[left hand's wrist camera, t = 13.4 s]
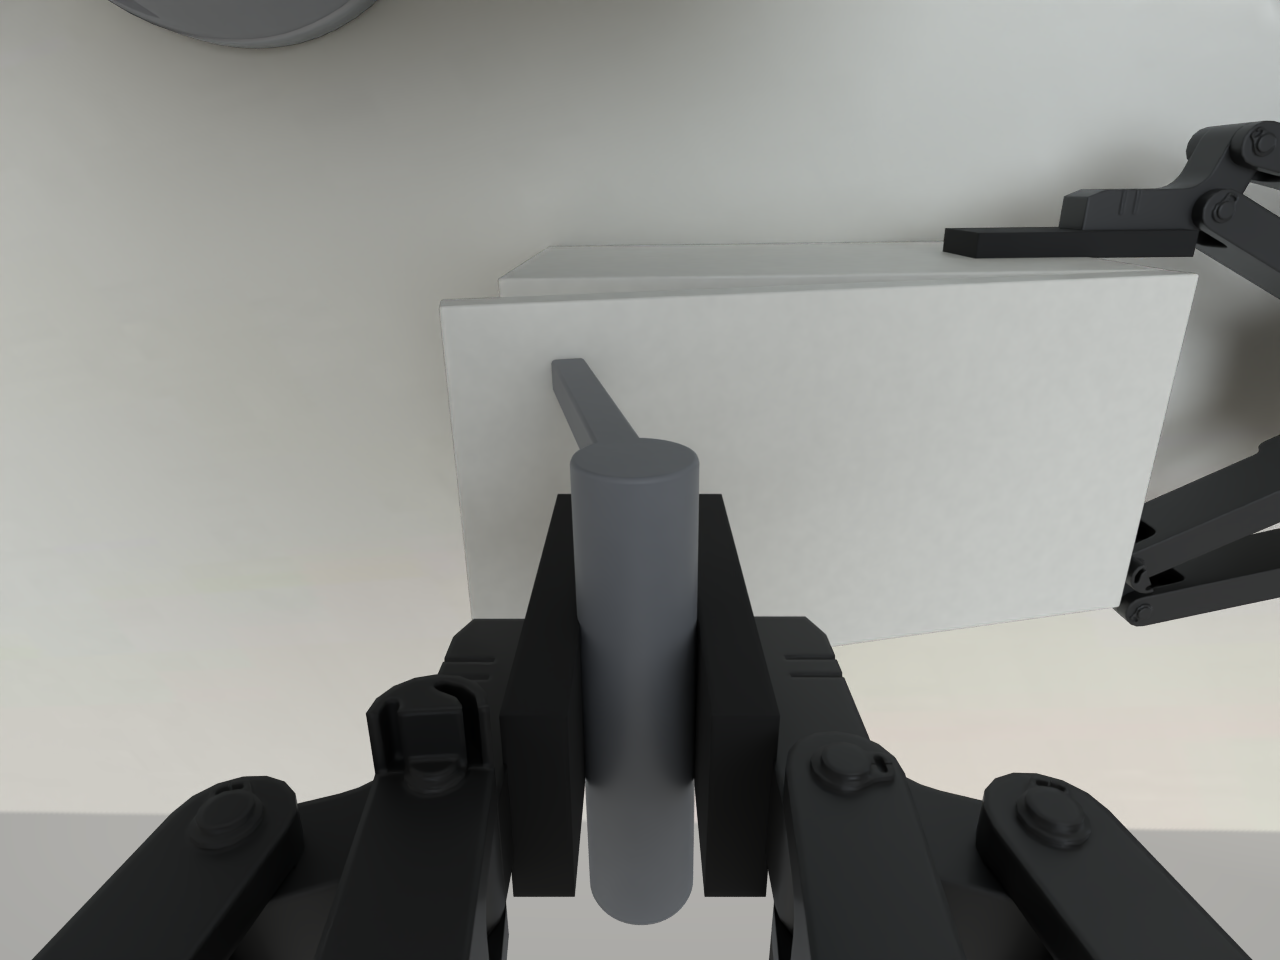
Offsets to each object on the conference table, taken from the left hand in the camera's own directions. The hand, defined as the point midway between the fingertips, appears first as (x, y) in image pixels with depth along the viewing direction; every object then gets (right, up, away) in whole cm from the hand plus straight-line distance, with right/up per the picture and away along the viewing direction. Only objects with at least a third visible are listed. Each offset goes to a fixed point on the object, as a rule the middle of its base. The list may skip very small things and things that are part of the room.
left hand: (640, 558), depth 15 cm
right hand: (+10, +4, +11) cm, 16 cm away
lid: (+5, +2, +4) cm, 7 cm away
